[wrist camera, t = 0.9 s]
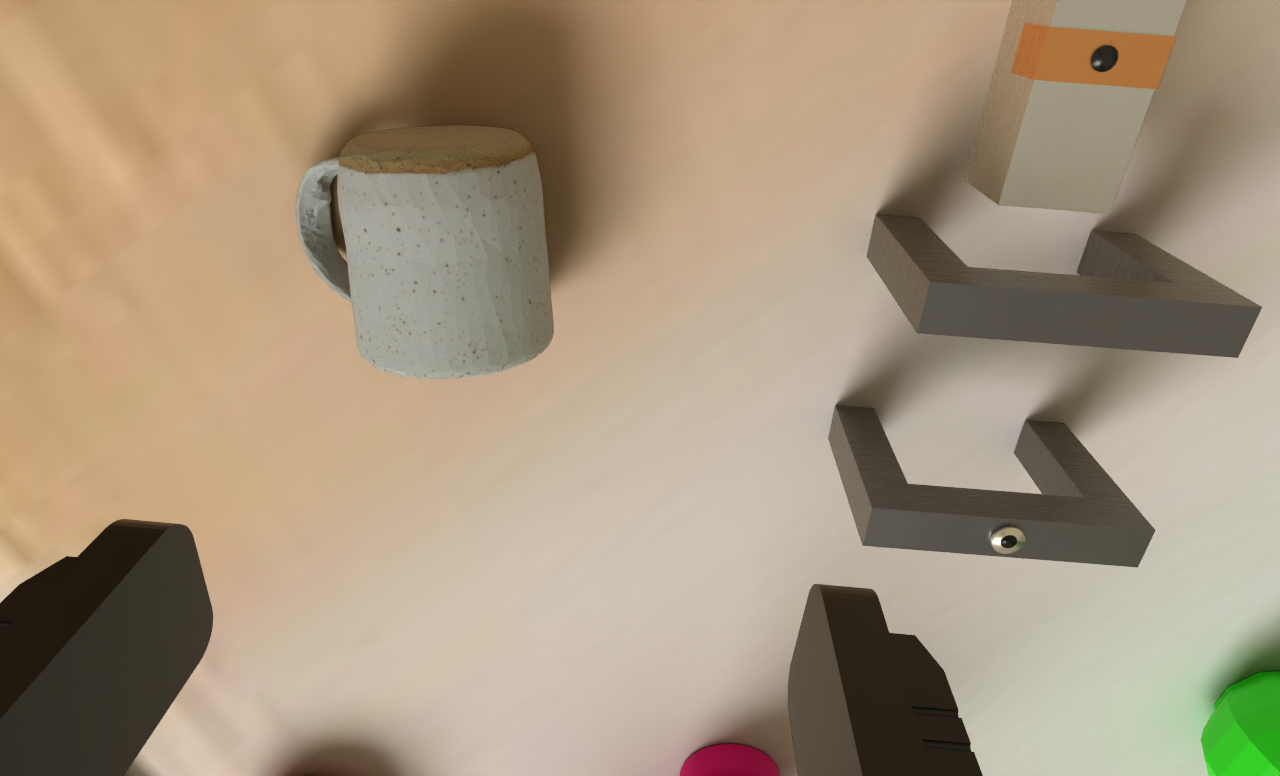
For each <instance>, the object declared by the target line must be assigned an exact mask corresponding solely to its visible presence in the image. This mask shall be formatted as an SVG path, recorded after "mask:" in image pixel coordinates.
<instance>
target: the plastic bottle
mask: <svg viewBox="0 0 1280 776" xmlns="http://www.w3.org/2000/svg"><path fill="white" fill-rule="evenodd" d="M1214 709H1215V711H1214V712H1213V713H1212V715H1211V717H1210V719H1209V721H1208V723H1207V724H1206V726H1205V727H1204V730H1203V734H1202V738H1201V742H1202V747H1203V752H1204V756H1205V761H1206V765H1207V770H1208V774H1209V776H1280V671H1275V672H1259V673H1256V674H1254V675H1252V676H1250V677H1248V678H1246V679H1244V680H1241V681H1239V682H1237V683H1235V684H1233V685H1231V686H1229V687H1228V688H1227V690H1226V691H1225V692H1224V694H1223V695H1222V696H1221V697H1220V699H1219V700H1218V701H1217V703H1216V704H1215V705H1214Z"/></svg>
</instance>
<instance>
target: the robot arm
mask: <svg viewBox="0 0 1280 776" xmlns="http://www.w3.org/2000/svg"><path fill="white" fill-rule="evenodd" d="M212 625H213V611H212V606H211V602H210V598H209V595H208V591H207V587H206V583H205V579H204V576H203V572H202V568H201V564H200V560H199V556H198V553H197V549H196V545H195V541H194V538H193V535H192V533H191V531H190V529H189V528H188V527H187V526H185V525H182V524H173V523H162V522H151V521H140V520H129V519H121V520H118V521H115V522H113V523H112V524H110V525H109V526H108V527H107V528H106V529H104V530H103V532H102V533H101V534H100V535H99V536H98V537H97V538H96V539H95V540H94V541H93V542H92V543H91V544H90V545H89V546H88V547H87V548H86V549H85V550H84V551H83V552H82V553H81V554H80V555H79V556H78V557H69V556H66V557H65V558H63V559H61V560H60V561H58V562H56V563H55V564H53V565H51V566H50V567H48V568H46V569H45V570H43V571H41V572H40V573H38V574H36V575H35V576H33V577H31V578H30V579H28V580H26V581H25V582H23V583H21V584H19V585H18V586H17V587H16V588H15V589H14V590H13V591H12V592H11V593H10V594H9V595H8V596H7V597H6V598H5V599H4V600H3V601H2V602H1V603H0V776H124V774H125V773H126V771H127V770H128V768H129V767H130V765H131V764H132V762H133V761H134V759H135V758H136V757H137V755H138V754H139V752H140V751H141V749H142V748H143V746H144V745H145V743H146V742H147V740H148V739H149V737H150V736H151V734H152V733H153V731H154V730H155V728H156V727H157V725H158V724H159V722H160V721H161V719H162V718H163V716H164V715H165V713H166V712H167V710H168V709H169V707H170V706H171V704H172V703H173V701H174V700H175V698H176V697H177V695H178V694H179V692H180V691H181V689H182V688H183V686H184V685H185V683H186V682H187V680H188V679H189V677H190V676H191V674H192V673H193V671H194V670H195V668H196V667H197V665H198V664H199V662H200V660H201V659H202V657H203V655H204V653H205V651H206V649H207V646H208V643H209V640H210V636H211V632H212ZM788 708H789V718H790V725H791V732H792V739H793V745H794V752H795V759H796V766H797V773H798V776H983V775H982V773H981V770H980V767H979V765H978V762H977V759H976V756H975V754H974V752H971V749H970V744H971V743H970V740H969V737H968V735H967V732H966V729H965V727H964V724H963V721H962V718H959V717H958V708H957V705H956V702H955V699H954V697H953V694H952V691H951V689H950V686H949V683H948V680H947V678H946V675H945V672H944V670H943V669H942V668H941V666H940V665H939V664H938V663H937V662H936V660H935V659H934V658H933V657H932V656H931V654H930V653H929V652H928V651H927V649H926V648H925V647H924V646H923V645H922V643H921V642H920V641H919V640H918V639H917V637H916V636H915V635H905V634H894V633H889V631H888V628H887V624H886V621H885V618H884V615H883V611H882V608H881V605H880V602H879V599H878V596H877V594H876V593H875V591H874V590H872V589H865V588H854V587H843V586H832V585H821V584H814V585H813V586H812V587H811V589H810V592H809V595H808V599H807V603H806V607H805V611H804V614H803V618H802V622H801V626H800V630H799V634H798V638H797V642H796V646H795V649H794V653H793V657H792V661H791V666H790V672H789V682H788Z"/></svg>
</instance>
